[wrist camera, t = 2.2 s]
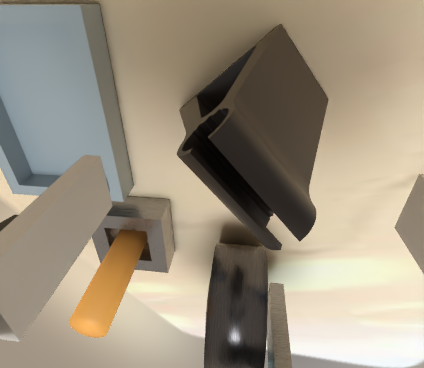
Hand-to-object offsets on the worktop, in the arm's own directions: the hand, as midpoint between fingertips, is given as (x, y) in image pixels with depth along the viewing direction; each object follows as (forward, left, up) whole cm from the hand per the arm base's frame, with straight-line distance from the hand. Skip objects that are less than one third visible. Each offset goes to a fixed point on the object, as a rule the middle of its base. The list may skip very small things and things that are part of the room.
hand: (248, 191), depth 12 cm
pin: (+13, -11, -11) cm, 20 cm away
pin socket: (+13, -11, -11) cm, 20 cm away
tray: (+1, -16, -11) cm, 19 cm away
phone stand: (0, 0, -11) cm, 11 cm away
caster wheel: (+17, 0, -11) cm, 20 cm away
